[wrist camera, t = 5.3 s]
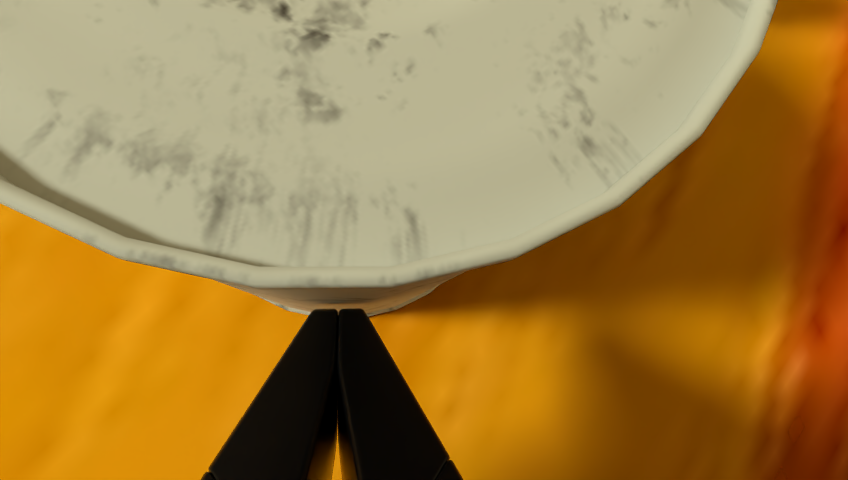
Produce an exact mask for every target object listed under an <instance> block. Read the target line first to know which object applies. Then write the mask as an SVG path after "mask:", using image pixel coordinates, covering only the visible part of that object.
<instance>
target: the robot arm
mask: <svg viewBox="0 0 848 480" xmlns="http://www.w3.org/2000/svg"><path fill="white" fill-rule="evenodd" d="M337 426H338V443H339V455H340V464H341V472H342V480H463V478H462V476H461V475H460V473H459V471H458V470H457V468H456V466H455V464H454V463H453V461H452V460H449V459H450V457H449V455H448V453H447V451H446V449H445V448H444V446H443V444H442V443H441V441H440V439H439V437H438V436H437V434H436V432H435V431H434V429H433V427H432V425H431V424H430V422H429V420H428V419H427V417H426V415H425V414H424V412H423V410H422V408H421V407H420V405H419V403H418V402H417V400H416V398H415V396H414V395H413V393H412V391H411V390H410V388H409V386H408V384H407V383H406V381H405V379H404V378H403V376H402V374H401V372H400V371H399V369H398V367H397V366H396V364H395V362H394V360H393V359H392V357H391V355H390V354H389V352H388V350H387V348H386V347H385V345H384V343H383V342H382V340H381V338H380V336H379V335H378V333H377V331H376V330H375V328H374V326H373V324H372V323H371V321H370V319H369V318H368V316H367V314H366V312H365V311H364V310H363V309H360V308H358V309H341V310H340V311H339V313H338V311H337V310H336V309H315V310H313V311H312V312H311V313H310V315H309V316H308V318H307V319H306V321H305V322H304V324H303V325H302V327H301V328H300V330H299V331H298V333H297V334H296V336H295V337H294V339H293V340H292V342H291V344H290V345H289V347H288V348H287V350H286V351H285V353H284V354H283V356H282V357H281V359H280V360H279V362H278V363H277V365H276V366H275V368H274V369H273V371H272V372H271V374H270V375H269V377H268V378H267V380H266V381H265V383H264V385H263V386H262V388H261V389H260V391H259V392H258V394H257V395H256V397H255V398H254V400H253V401H252V403H251V404H250V406H249V407H248V409H247V410H246V412H245V413H244V415H243V416H242V418H241V419H240V421H239V422H238V424H237V426H236V427H235V429H234V430H233V432H232V433H231V435H230V436H229V438H228V439H227V441H226V442H225V444H224V445H223V447H222V448H221V450H220V451H219V453H218V454H217V456H216V457H215V459H214V460H213V462H212V463H211V465H210V467H209V472H206V473H205V474H204V475H203V477H202V478H201V480H332V473H333V466H334V459H335V451H336V442H337Z"/></svg>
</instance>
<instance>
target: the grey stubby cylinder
mask: <svg viewBox="0 0 848 480" xmlns="http://www.w3.org/2000/svg"><path fill="white" fill-rule="evenodd" d="M777 2H778V0H0V203H1V204H3V205H5V206H7V207H9V208H12V209H14V210H16V211H18V212H20V213H22V214H24V215H27V216H29V217H31V218H33V219H35V220H37V221H39V222H42V223H44V224H46V225H48V226H50V227H52V228H54V229H57V230H59V231H61V232H63V233H65V234H67V235H70V236H72V237H74V238H76V239H78V240H80V241H82V242H85V243H87V244H89V245H91V246H93V247H95V248H97V249H100V250H102V251H104V252H106V253H108V254H110V255H112V256H115V257H117V258H119V259H123V260H126V261H131V262H135V263H140V264H145V265H149V266H154V267H158V268H163V269H168V270H172V271H177V272H181V273H186V274H191V275H195V276H200V277H204V278H209V279H213V280H216V281H218V282H221V283H224V284H227V285H229V286H232V287H235V288H237V289H240V290H243V291H246V292H248V293H251V294H254V295H256V296H258V297H260V298H262V299H264V300H266V301H269V302H271V303H273V304H275V305H277V306H279V307H281V308H283V309H286V310H288V311H292V312H297V313H301V314H306V315H310V313H311V312H312V311H313V310H315V309H336V310H337V311H338V313H339V311H340V310H341V309H358V308H360V309H363V310H364V311H365V312H366V314H367V316H372V315H376V314H381V313H385V312H389V311H393V310H397V309H399V308H401V307H403V306H405V305H407V304H409V303H411V302H413V301H415V300H417V299H419V298H421V297H423V296H425V295H427V294H429V293H430V292H432V291H433V290H434V289H435V288H436V287H438V286H439V285H440V284H442V283H444V282H446V281H448V280H450V279H452V278H454V277H456V276H458V275H460V274H462V273H464V272H466V271H468V270H473V269H477V268H481V267H485V266H490V265H494V264H498V263H502V262H507V261H511V260H513V259H515V258H517V257H519V256H521V255H523V254H525V253H527V252H529V251H531V250H533V249H535V248H537V247H539V246H541V245H543V244H545V243H547V242H549V241H551V240H553V239H555V238H557V237H559V236H561V235H563V234H565V233H567V232H569V231H571V230H573V229H575V228H577V227H579V226H581V225H583V224H585V223H587V222H589V221H591V220H593V219H595V218H597V217H599V216H601V215H603V214H605V213H607V212H609V211H611V210H613V209H615V208H617V207H619V206H621V205H622V204H623V203H624V202H625V201H626V200H627V199H629V198H630V197H631V196H632V195H633V194H634V193H636V192H637V191H638V190H639V189H640V188H641V187H643V186H644V185H645V184H646V183H647V182H648V181H650V180H651V179H652V178H653V177H654V176H655V175H657V174H658V173H659V172H660V171H661V170H662V169H663V168H665V167H666V166H667V165H668V164H669V163H670V162H672V161H673V160H674V159H675V158H676V157H677V156H679V155H680V154H681V153H682V152H683V151H684V150H686V149H687V148H688V147H689V146H690V145H691V144H693V143H694V142H695V141H696V140H697V139H698V138H699V137H701V135H702V134H703V132H704V131H705V130H706V128H707V127H708V125H709V124H710V122H711V121H712V119H713V118H714V117H715V115H716V114H717V112H718V111H719V109H720V108H721V106H722V105H723V104H724V102H725V101H726V99H727V98H728V96H729V95H730V93H731V92H732V91H733V89H734V88H735V86H736V85H737V83H738V82H739V80H740V79H741V78H742V76H743V75H744V73H745V72H746V70H747V69H748V67H749V66H750V65H751V63H752V62H753V60H754V59H755V57H756V56H757V54H758V53H759V51H760V48H761V46H762V43H763V40H764V37H765V35H766V32H767V29H768V26H769V24H770V21H771V18H772V15H773V13H774V10H775V7H776V4H777Z"/></svg>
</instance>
